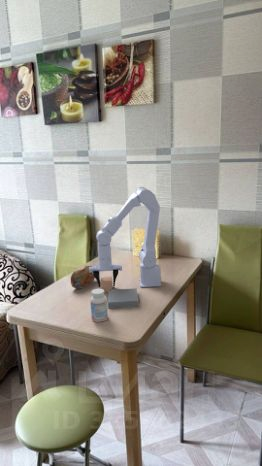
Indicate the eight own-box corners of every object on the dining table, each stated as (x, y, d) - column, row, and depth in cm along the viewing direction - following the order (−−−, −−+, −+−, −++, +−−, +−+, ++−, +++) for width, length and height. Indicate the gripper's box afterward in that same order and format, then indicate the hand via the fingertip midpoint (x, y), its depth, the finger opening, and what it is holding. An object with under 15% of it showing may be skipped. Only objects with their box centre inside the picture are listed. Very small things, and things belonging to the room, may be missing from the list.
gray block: (136, 294, 153) (136, 288, 153) (138, 307, 142) (138, 300, 141) (109, 296, 153) (108, 290, 152) (108, 309, 142) (107, 302, 141)
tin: (75, 291, 158) (73, 274, 156) (70, 290, 160) (68, 273, 158) (96, 280, 171) (95, 263, 168) (91, 279, 172) (90, 262, 170)
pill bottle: (92, 315, 136) (89, 288, 133) (107, 314, 137) (105, 287, 134) (91, 323, 131) (89, 295, 128) (108, 321, 131) (106, 293, 128)
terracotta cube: (112, 286, 162) (112, 276, 161) (112, 291, 157) (111, 280, 156) (101, 287, 162) (101, 277, 161) (101, 291, 157) (100, 281, 156)
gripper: (121, 253, 160) (122, 281, 163) (89, 255, 160) (91, 283, 163) (121, 258, 153) (123, 287, 157) (87, 260, 153) (90, 289, 156)
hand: (106, 285), depth 159 cm, fingers open, 6 cm apart
